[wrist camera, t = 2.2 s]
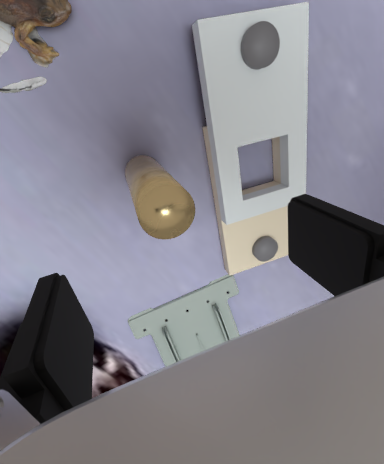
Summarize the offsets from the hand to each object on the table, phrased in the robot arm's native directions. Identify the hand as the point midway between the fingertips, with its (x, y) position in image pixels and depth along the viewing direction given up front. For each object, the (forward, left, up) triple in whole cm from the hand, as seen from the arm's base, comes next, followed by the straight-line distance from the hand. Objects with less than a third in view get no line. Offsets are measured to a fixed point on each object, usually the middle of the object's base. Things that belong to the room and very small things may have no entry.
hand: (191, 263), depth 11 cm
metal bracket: (-1, +23, -19) cm, 30 cm away
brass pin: (0, 0, -18) cm, 18 cm away
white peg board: (-12, +2, -18) cm, 22 cm away
